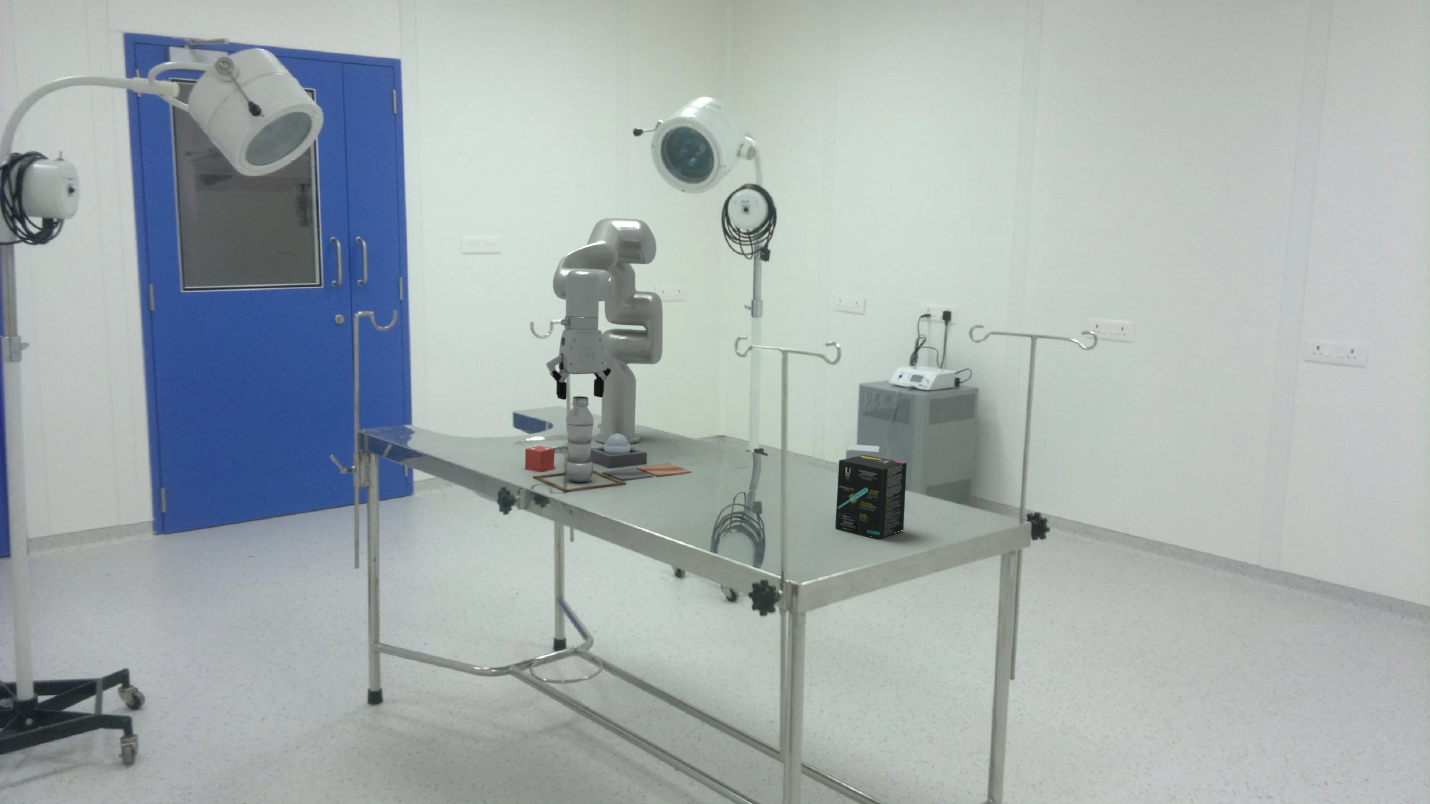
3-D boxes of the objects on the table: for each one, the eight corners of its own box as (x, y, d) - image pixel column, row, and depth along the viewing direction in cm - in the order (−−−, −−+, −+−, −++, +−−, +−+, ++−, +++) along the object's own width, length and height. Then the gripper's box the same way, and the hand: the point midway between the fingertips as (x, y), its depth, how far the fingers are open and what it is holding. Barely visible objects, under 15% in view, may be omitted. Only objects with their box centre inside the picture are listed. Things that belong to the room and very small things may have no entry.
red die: (525, 468, 262) (525, 448, 261) (539, 465, 266) (539, 445, 265) (540, 471, 259) (540, 451, 258) (554, 468, 263) (554, 448, 262)
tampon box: (904, 531, 218) (908, 462, 216) (879, 540, 211) (883, 468, 209) (859, 521, 225) (863, 453, 223) (834, 528, 218) (838, 459, 216)
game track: (532, 477, 253) (532, 476, 252) (662, 462, 275) (662, 461, 274) (565, 492, 240) (565, 490, 240) (698, 475, 262) (698, 473, 262)
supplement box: (875, 507, 237) (878, 451, 235) (842, 504, 238) (845, 449, 237) (877, 499, 244) (880, 445, 242) (844, 496, 246) (847, 443, 244)
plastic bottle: (579, 485, 246) (581, 400, 243) (559, 480, 250) (560, 397, 247) (599, 481, 252) (600, 397, 248) (578, 476, 256) (579, 394, 252)
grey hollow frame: (587, 459, 274) (587, 448, 274) (623, 455, 281) (624, 444, 280) (609, 468, 266) (609, 456, 265) (646, 463, 272) (646, 452, 272)
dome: (598, 455, 274) (599, 432, 273) (621, 453, 278) (621, 430, 277) (612, 460, 268) (613, 437, 267) (635, 457, 272) (635, 434, 272)
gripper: (556, 326, 237) (554, 402, 239) (622, 325, 247) (620, 398, 250) (540, 323, 243) (539, 397, 245) (605, 322, 253) (604, 393, 256)
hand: (580, 397), depth 248 cm, fingers open, 9 cm apart
